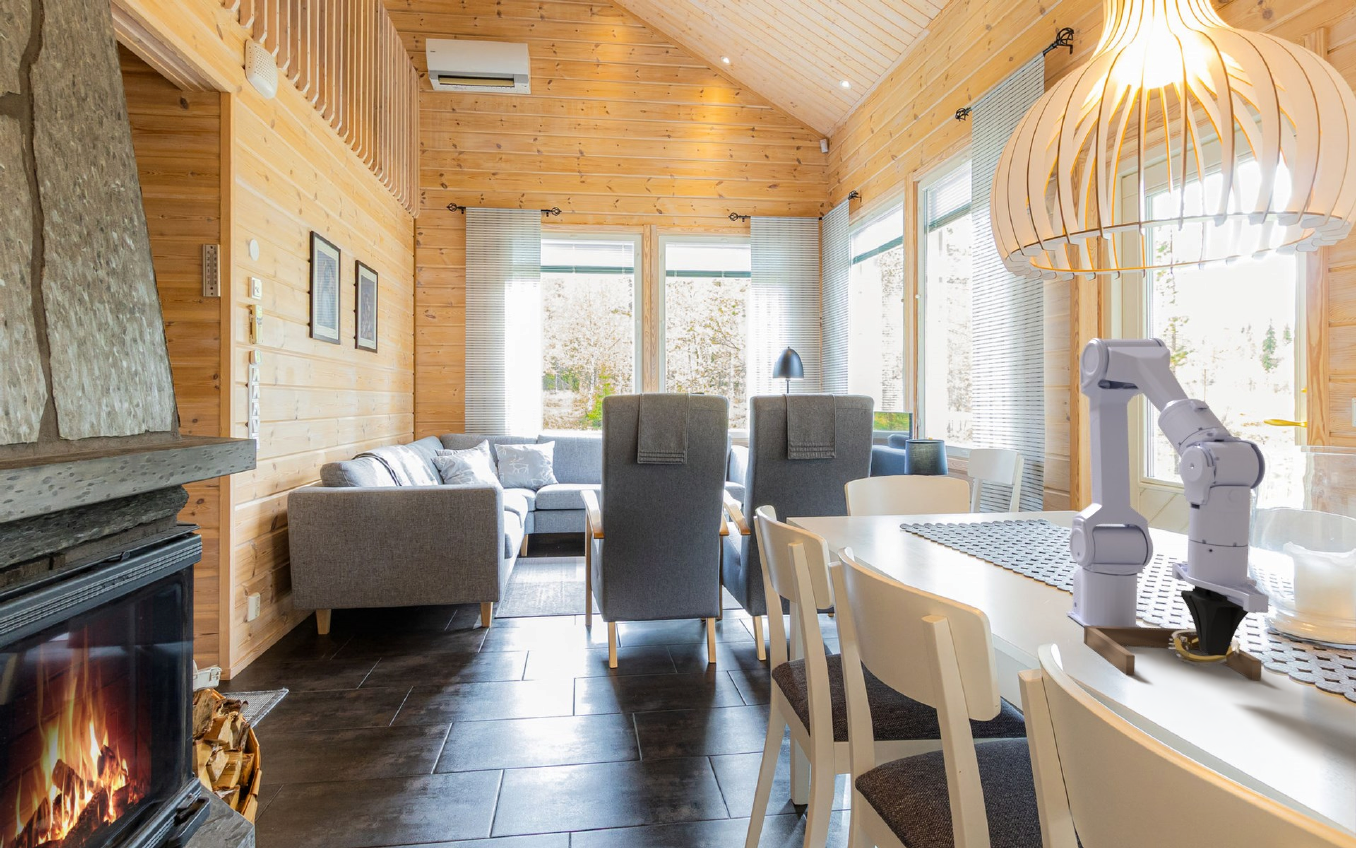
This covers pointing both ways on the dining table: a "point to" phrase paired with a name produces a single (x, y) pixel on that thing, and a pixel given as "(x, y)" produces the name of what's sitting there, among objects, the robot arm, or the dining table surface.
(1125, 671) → the brown u-shaped frame
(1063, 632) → the dining table surface
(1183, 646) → the ring
